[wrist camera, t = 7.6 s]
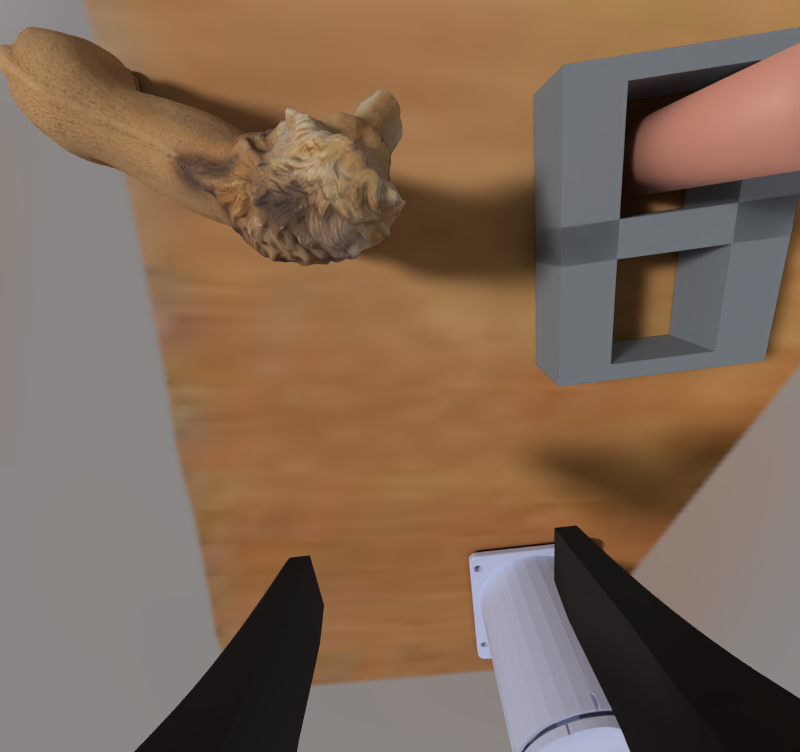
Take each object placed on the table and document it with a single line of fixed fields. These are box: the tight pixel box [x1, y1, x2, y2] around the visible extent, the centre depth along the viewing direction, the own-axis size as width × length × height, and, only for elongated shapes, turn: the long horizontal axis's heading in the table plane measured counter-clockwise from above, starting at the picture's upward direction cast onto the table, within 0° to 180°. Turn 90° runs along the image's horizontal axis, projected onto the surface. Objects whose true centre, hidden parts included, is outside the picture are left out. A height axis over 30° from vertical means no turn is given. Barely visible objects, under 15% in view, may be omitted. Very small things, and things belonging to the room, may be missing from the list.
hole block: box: [534, 27, 800, 387], centre depth 16 cm, size 12×9×3 cm
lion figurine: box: [0, 27, 406, 266], centre depth 13 cm, size 15×5×9 cm, turn 76°
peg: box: [621, 43, 800, 197], centre depth 13 cm, size 3×3×8 cm
